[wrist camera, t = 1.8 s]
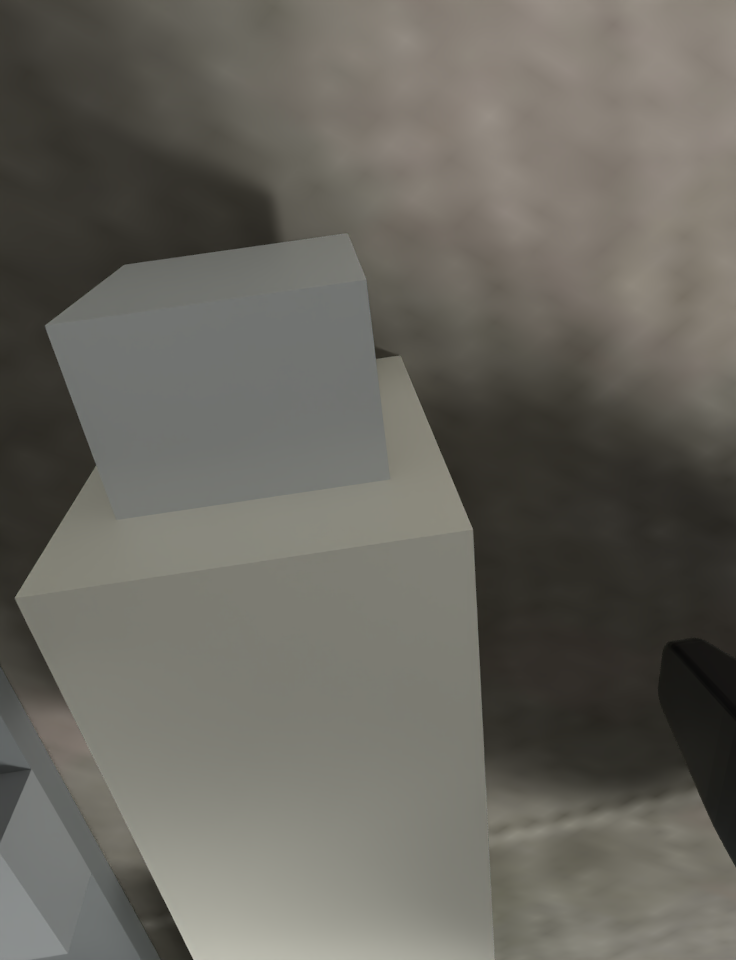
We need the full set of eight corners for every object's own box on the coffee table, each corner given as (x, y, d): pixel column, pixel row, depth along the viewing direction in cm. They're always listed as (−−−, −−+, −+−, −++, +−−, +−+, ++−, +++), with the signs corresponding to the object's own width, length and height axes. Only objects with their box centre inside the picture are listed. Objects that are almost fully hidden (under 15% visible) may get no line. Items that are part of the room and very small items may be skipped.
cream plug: (435, 711, 14) (495, 981, 10) (250, 740, 14) (225, 1023, 9) (385, 215, 9) (461, 299, 5) (100, 255, 9) (-96, 378, 5)
